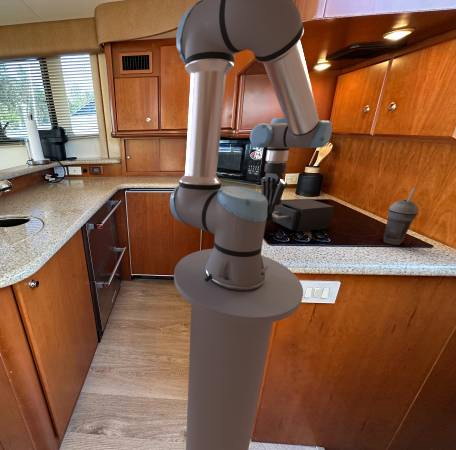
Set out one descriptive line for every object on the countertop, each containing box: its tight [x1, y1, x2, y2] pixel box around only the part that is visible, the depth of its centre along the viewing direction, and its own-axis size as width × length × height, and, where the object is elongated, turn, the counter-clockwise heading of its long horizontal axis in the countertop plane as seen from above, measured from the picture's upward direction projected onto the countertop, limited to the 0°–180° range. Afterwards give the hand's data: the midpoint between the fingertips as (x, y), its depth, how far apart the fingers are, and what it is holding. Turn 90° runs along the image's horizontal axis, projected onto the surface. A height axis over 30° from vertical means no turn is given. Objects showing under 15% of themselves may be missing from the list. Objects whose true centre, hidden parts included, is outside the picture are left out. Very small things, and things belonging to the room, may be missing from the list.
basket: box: [272, 204, 301, 231], centre depth 101 cm, size 19×11×8 cm, turn 102°
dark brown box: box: [279, 198, 335, 233], centre depth 102 cm, size 15×13×10 cm
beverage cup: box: [382, 187, 419, 246], centre depth 82 cm, size 7×7×20 cm
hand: (267, 220), depth 99 cm, fingers closed
